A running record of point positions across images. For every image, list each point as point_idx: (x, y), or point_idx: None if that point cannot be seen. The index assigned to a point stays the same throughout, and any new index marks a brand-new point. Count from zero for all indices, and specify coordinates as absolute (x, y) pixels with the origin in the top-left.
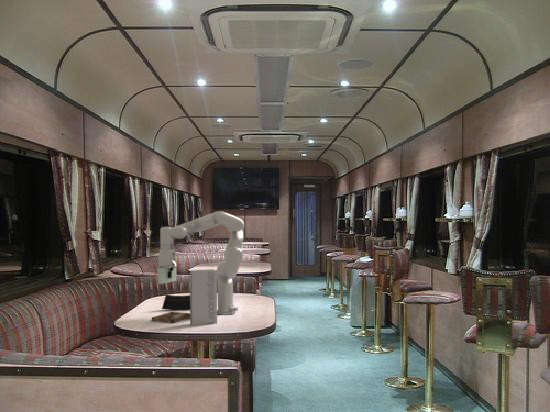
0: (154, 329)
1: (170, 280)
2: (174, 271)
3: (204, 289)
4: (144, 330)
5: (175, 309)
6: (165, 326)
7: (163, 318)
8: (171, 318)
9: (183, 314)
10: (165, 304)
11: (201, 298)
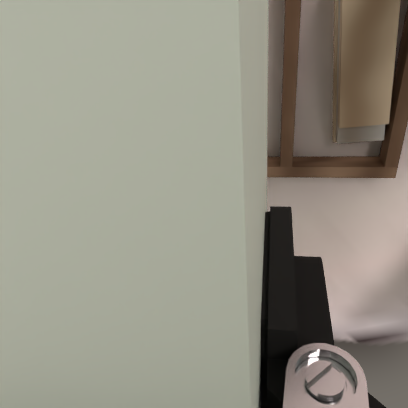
0: (368, 302)
1: (266, 183)
2: (260, 112)
3: None
4: (332, 324)
5: None
6: (389, 245)
7: (309, 176)
8: (348, 133)
9: (398, 12)
10: None
11: None
